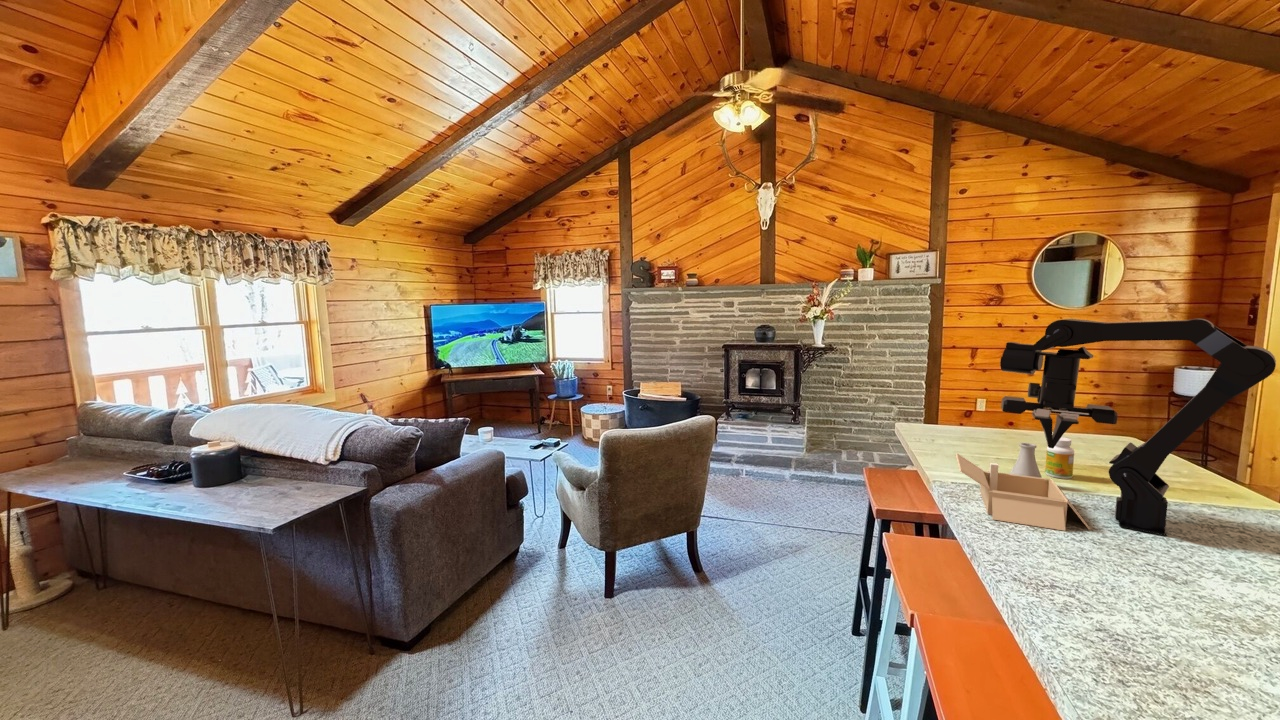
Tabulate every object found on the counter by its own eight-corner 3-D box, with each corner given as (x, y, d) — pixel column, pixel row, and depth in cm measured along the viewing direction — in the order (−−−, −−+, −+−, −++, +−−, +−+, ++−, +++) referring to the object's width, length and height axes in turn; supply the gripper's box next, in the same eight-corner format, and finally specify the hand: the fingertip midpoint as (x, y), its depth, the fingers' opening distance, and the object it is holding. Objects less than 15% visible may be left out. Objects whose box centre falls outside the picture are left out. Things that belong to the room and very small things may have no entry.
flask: (1052, 489, 118) (1055, 448, 116) (1021, 489, 118) (1024, 449, 117) (1028, 478, 125) (1031, 440, 124) (999, 479, 125) (1002, 440, 124)
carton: (1067, 498, 112) (1068, 476, 111) (1095, 536, 94) (1097, 510, 93) (978, 486, 120) (979, 466, 119) (989, 519, 102) (990, 495, 101)
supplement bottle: (1040, 474, 127) (1042, 437, 126) (1051, 470, 130) (1054, 434, 129) (1065, 480, 123) (1068, 442, 122) (1076, 477, 125) (1079, 439, 124)
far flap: (982, 469, 116) (956, 453, 118) (989, 488, 104) (961, 470, 107) (981, 470, 116) (955, 454, 118) (988, 490, 104) (959, 471, 107)
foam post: (995, 493, 115) (997, 463, 115) (996, 495, 114) (998, 465, 113) (988, 492, 116) (990, 462, 115) (989, 494, 115) (991, 464, 114)
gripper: (1108, 376, 107) (1098, 445, 109) (1003, 368, 117) (995, 432, 119) (1123, 384, 98) (1112, 459, 100) (1007, 375, 108) (999, 444, 110)
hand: (1050, 447), depth 108 cm, fingers closed
